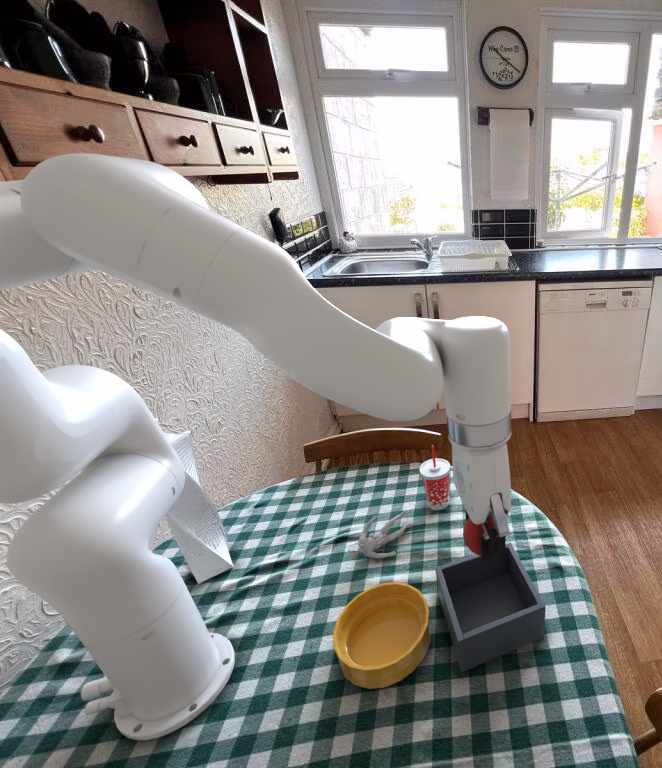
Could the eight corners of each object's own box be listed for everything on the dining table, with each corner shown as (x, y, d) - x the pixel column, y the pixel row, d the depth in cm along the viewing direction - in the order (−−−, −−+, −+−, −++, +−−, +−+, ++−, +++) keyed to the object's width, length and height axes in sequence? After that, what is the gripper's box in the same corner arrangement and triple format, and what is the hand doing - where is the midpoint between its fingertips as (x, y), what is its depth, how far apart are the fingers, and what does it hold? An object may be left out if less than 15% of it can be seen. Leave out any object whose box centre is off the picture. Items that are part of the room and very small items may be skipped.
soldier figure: (421, 538, 79) (374, 568, 68) (405, 548, 81) (357, 578, 70) (402, 502, 80) (353, 525, 69) (387, 512, 82) (337, 536, 71)
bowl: (341, 708, 52) (334, 687, 50) (337, 620, 63) (332, 600, 61) (440, 666, 56) (438, 645, 55) (421, 591, 67) (418, 571, 65)
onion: (499, 532, 61) (498, 489, 57) (512, 563, 56) (511, 517, 52) (461, 542, 59) (457, 498, 56) (470, 574, 54) (466, 528, 51)
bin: (461, 673, 56) (457, 641, 53) (438, 596, 66) (435, 567, 63) (544, 637, 60) (545, 606, 57) (511, 570, 71) (510, 542, 68)
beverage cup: (459, 501, 86) (455, 445, 80) (436, 517, 82) (430, 459, 76) (440, 488, 90) (434, 434, 84) (417, 503, 86) (410, 447, 80)
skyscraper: (185, 562, 73) (120, 425, 61) (234, 540, 77) (182, 409, 65) (191, 592, 67) (120, 448, 55) (243, 567, 72) (188, 429, 60)
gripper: (431, 398, 54) (442, 505, 62) (471, 472, 40) (479, 599, 48) (485, 388, 57) (489, 491, 65) (540, 454, 43) (537, 577, 50)
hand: (485, 536), depth 56 cm, fingers closed on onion, 5 cm apart
